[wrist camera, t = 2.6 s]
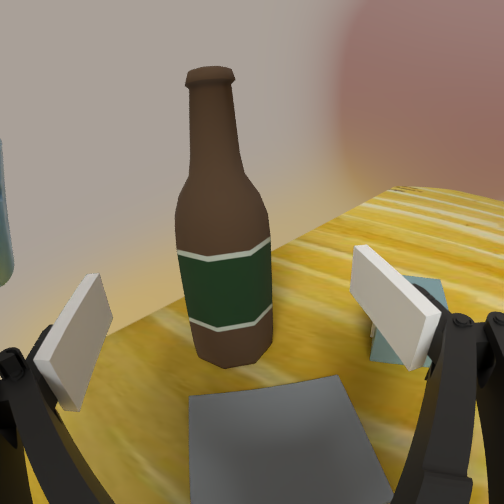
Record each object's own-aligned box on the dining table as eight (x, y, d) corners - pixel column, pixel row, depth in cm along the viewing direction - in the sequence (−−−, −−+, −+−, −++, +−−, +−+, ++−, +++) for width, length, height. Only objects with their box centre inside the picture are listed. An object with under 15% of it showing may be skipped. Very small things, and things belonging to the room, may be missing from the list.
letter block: (426, 329, 28) (440, 279, 26) (430, 367, 23) (449, 314, 21) (371, 322, 30) (379, 272, 28) (366, 360, 25) (377, 306, 23)
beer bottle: (179, 338, 30) (142, 81, 20) (243, 311, 34) (226, 78, 24) (219, 384, 24) (180, 56, 14) (290, 346, 28) (285, 63, 18)
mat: (195, 540, 11) (192, 538, 11) (190, 401, 22) (188, 395, 22) (391, 502, 13) (395, 498, 12) (336, 381, 24) (337, 374, 23)
